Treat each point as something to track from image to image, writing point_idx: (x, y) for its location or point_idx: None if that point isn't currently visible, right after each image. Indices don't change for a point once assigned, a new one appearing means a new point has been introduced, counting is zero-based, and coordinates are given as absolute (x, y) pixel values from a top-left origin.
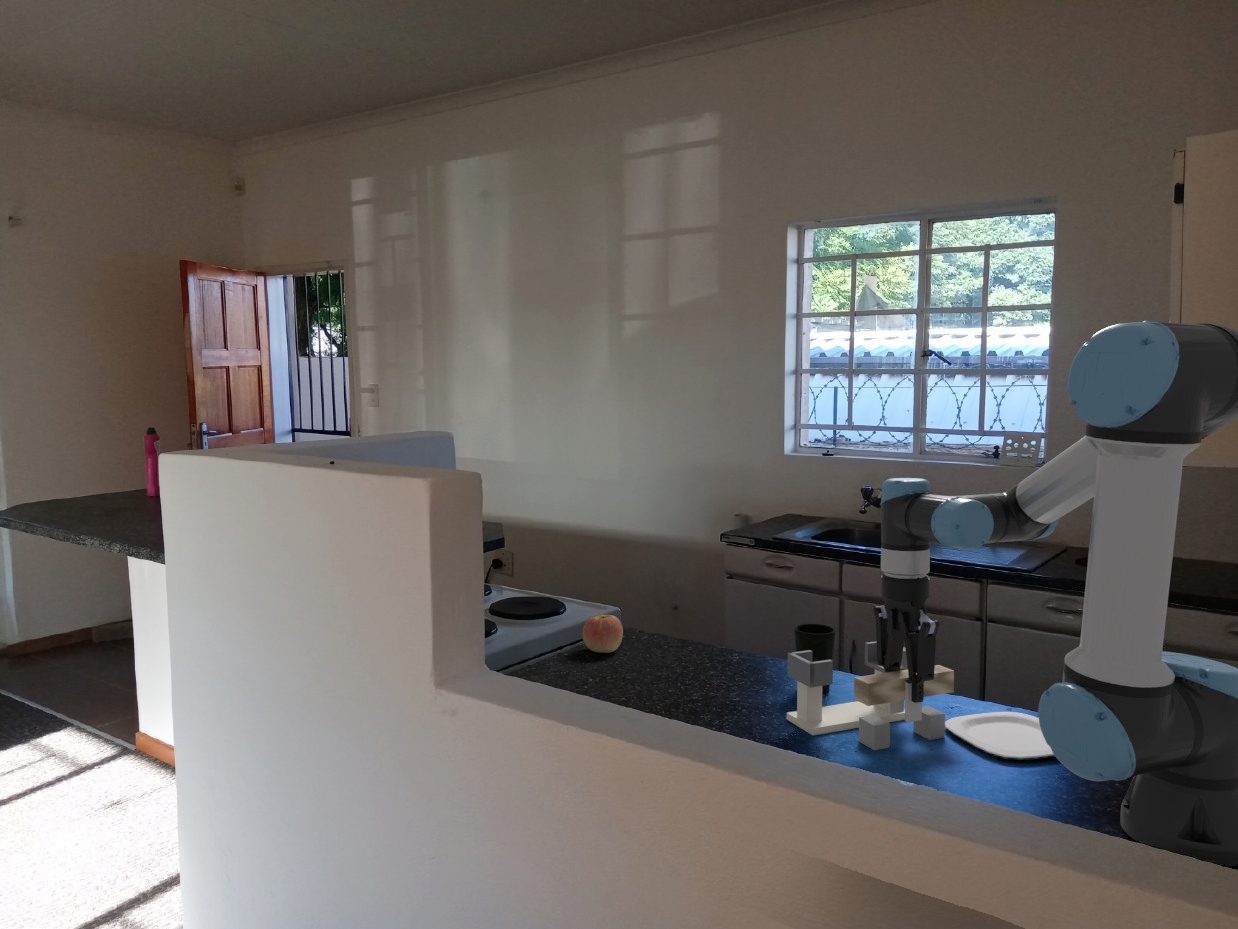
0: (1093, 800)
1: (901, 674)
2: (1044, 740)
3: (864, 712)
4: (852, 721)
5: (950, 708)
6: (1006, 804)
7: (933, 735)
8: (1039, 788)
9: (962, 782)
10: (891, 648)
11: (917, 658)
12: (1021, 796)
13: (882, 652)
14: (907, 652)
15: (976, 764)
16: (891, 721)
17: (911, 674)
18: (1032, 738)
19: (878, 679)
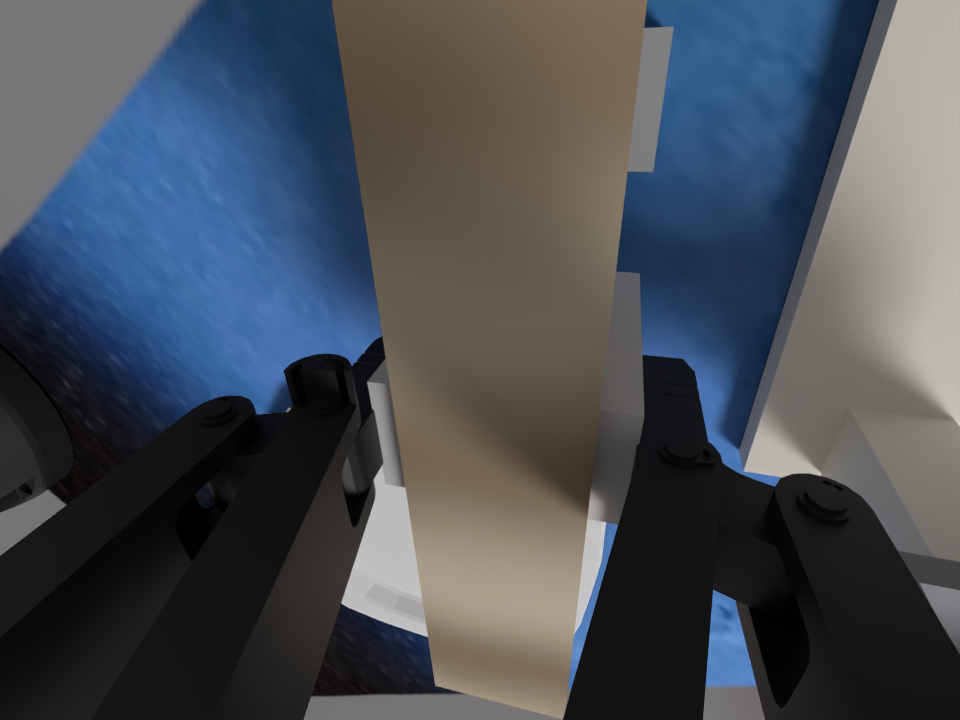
0: (101, 392)
1: (490, 447)
2: (391, 568)
3: (910, 299)
4: (858, 132)
5: (722, 605)
6: (53, 190)
7: None
8: (153, 347)
9: (187, 182)
10: (573, 683)
11: (86, 559)
12: (105, 269)
13: (817, 628)
14: (224, 627)
15: (306, 329)
16: (766, 369)
17: (304, 432)
18: (409, 561)
19: (430, 140)
